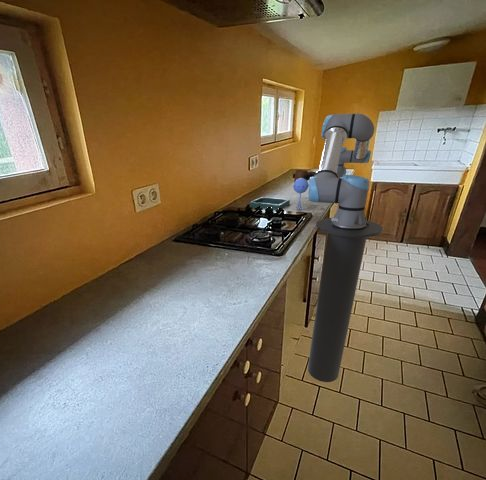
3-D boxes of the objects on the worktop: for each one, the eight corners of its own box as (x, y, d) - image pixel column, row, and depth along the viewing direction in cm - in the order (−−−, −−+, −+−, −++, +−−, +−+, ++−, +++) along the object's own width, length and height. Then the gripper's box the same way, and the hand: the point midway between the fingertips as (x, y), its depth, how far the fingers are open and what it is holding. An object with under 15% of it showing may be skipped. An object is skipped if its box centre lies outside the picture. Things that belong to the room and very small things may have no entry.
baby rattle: (288, 208, 183) (290, 177, 175) (300, 207, 186) (303, 176, 178) (296, 211, 176) (299, 179, 168) (309, 210, 178) (312, 178, 171)
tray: (289, 204, 194) (289, 199, 192) (278, 210, 181) (279, 205, 179) (261, 201, 204) (261, 196, 202) (249, 207, 191) (249, 202, 189)
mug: (313, 185, 194) (315, 169, 190) (313, 187, 187) (315, 171, 183) (293, 184, 197) (295, 169, 192) (293, 187, 190) (295, 171, 186)
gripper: (314, 166, 204) (287, 168, 195) (339, 169, 186) (311, 172, 178) (312, 177, 207) (286, 180, 199) (337, 181, 190) (310, 185, 181)
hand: (298, 176), depth 188 cm, fingers closed on mug, 9 cm apart
